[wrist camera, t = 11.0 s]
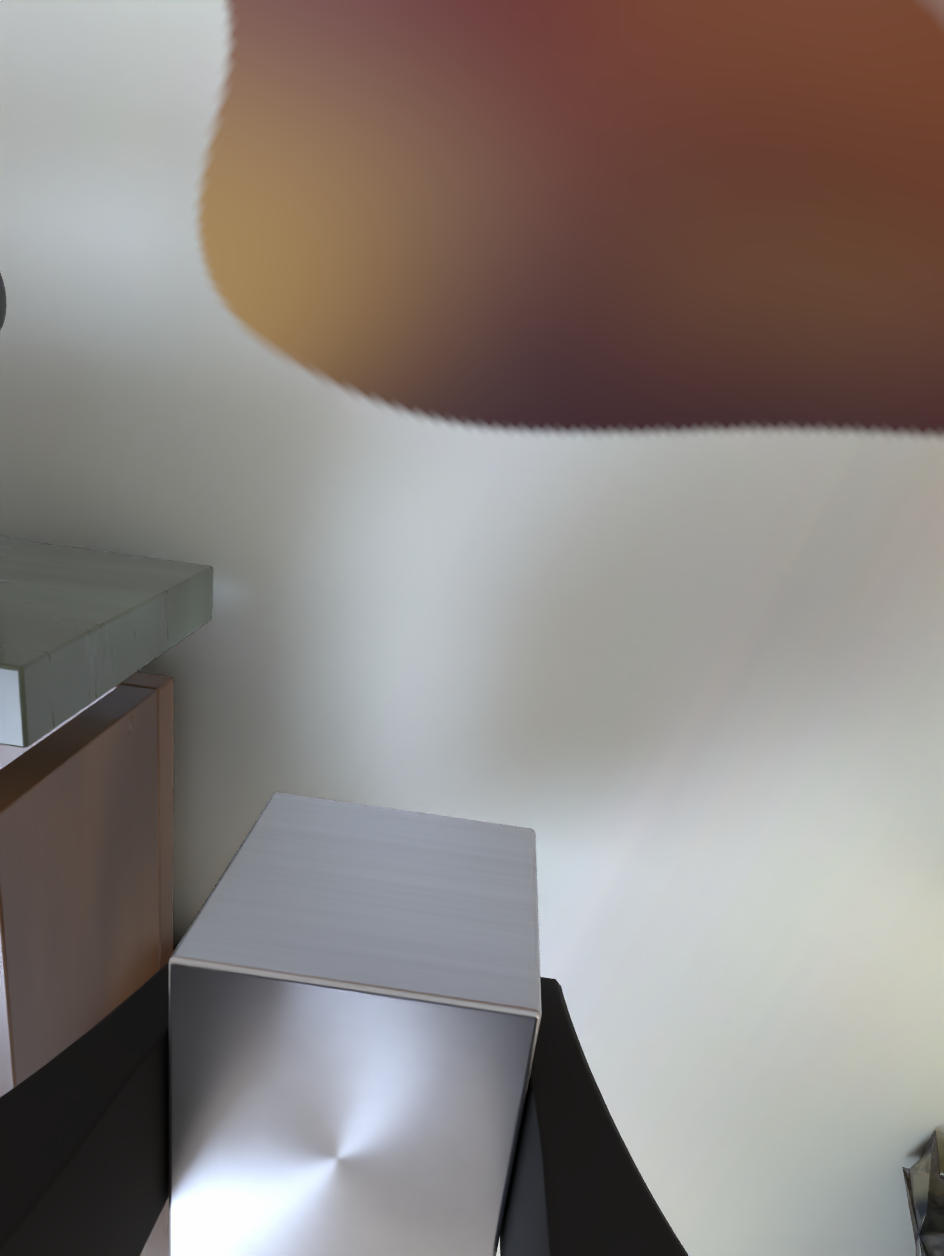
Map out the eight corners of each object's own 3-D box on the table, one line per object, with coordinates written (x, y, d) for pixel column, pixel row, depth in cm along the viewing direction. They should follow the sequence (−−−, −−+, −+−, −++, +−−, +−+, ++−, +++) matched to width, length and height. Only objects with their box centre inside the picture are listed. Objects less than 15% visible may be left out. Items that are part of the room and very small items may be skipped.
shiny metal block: (273, 789, 13) (166, 959, 9) (536, 827, 12) (542, 1015, 9) (261, 1041, 14) (166, 1277, 10) (493, 1077, 14) (483, 1328, 10)
